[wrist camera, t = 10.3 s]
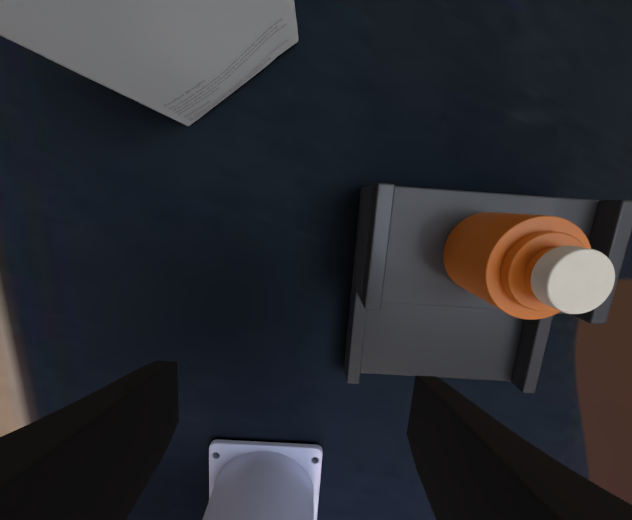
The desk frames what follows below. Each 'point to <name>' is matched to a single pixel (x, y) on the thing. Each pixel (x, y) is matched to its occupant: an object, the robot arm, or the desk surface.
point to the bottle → (528, 264)
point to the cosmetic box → (157, 45)
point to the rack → (452, 286)
